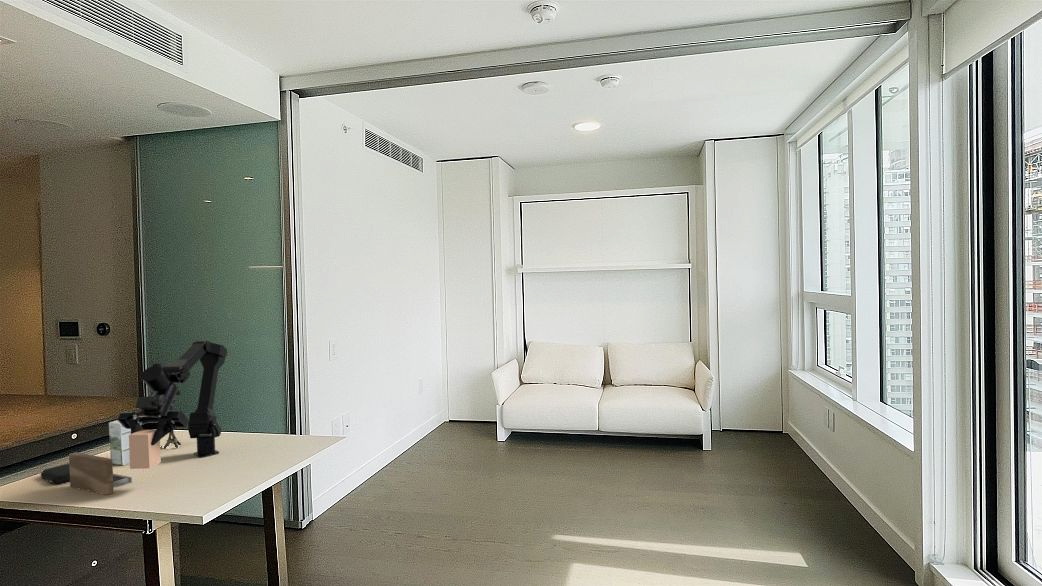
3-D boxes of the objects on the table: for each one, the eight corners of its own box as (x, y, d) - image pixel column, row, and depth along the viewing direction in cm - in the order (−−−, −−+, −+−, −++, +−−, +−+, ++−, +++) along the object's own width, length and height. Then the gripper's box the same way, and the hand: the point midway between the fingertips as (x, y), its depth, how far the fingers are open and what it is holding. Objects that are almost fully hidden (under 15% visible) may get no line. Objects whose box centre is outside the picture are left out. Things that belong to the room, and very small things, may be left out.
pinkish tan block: (142, 462, 179) (140, 430, 178) (160, 462, 179) (159, 429, 178) (130, 468, 173) (128, 435, 173) (149, 468, 173) (148, 434, 173)
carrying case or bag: (34, 479, 187) (52, 488, 179) (34, 470, 187) (52, 478, 179) (74, 470, 196) (93, 477, 188) (74, 461, 196) (92, 468, 188)
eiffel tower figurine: (183, 441, 230) (181, 407, 229) (199, 444, 225) (198, 409, 224) (143, 452, 216) (141, 415, 216) (159, 455, 212) (158, 418, 211)
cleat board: (105, 476, 188) (103, 445, 187) (140, 483, 180) (139, 451, 180) (70, 486, 179) (68, 454, 178) (106, 495, 171) (104, 460, 171)
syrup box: (138, 460, 204) (136, 419, 203) (122, 466, 198) (120, 423, 198) (126, 459, 205) (124, 418, 205) (109, 464, 200) (108, 422, 199)
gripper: (119, 385, 179) (95, 431, 168) (181, 384, 179) (161, 430, 169) (137, 405, 187) (115, 450, 176) (196, 404, 187) (178, 449, 177)
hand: (141, 444), depth 174 cm, fingers closed on pinkish tan block, 6 cm apart
